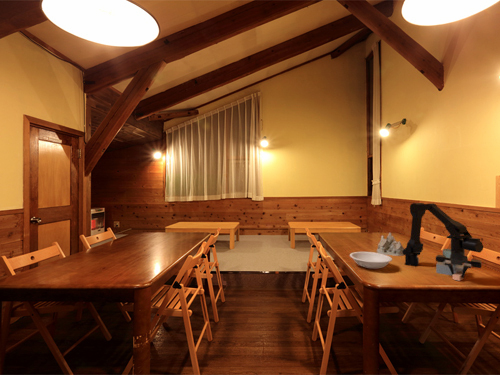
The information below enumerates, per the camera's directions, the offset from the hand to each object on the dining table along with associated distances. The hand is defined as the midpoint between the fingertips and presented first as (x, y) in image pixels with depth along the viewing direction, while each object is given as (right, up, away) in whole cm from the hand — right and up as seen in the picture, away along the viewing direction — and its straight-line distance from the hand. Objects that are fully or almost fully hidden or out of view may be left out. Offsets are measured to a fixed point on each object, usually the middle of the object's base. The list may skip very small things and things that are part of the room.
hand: (457, 277), depth 136 cm
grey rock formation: (-6, -2, +55) cm, 55 cm away
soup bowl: (-36, -2, +23) cm, 43 cm away
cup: (+14, -1, +22) cm, 26 cm away
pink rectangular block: (0, -1, 0) cm, 1 cm away
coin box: (+4, -1, +10) cm, 11 cm away
